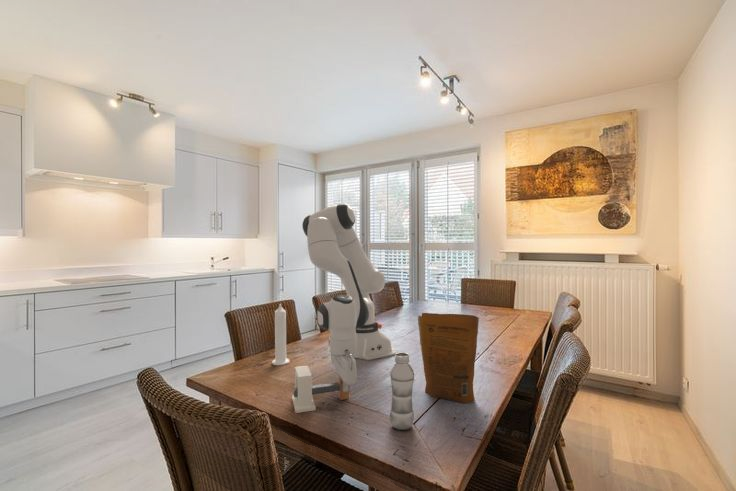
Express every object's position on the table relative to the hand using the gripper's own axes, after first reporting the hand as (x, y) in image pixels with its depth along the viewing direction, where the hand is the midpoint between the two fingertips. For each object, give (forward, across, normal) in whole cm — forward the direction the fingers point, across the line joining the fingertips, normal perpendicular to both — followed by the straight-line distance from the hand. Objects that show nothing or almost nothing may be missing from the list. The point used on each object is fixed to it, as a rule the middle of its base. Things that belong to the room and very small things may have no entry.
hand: (343, 387), depth 113 cm
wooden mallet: (+3, 0, +7) cm, 8 cm away
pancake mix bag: (+4, -11, -32) cm, 34 cm away
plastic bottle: (+4, -22, -11) cm, 25 cm away
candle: (+4, +40, +17) cm, 44 cm away
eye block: (+3, 0, +13) cm, 13 cm away
